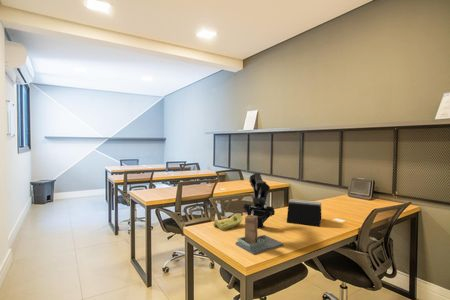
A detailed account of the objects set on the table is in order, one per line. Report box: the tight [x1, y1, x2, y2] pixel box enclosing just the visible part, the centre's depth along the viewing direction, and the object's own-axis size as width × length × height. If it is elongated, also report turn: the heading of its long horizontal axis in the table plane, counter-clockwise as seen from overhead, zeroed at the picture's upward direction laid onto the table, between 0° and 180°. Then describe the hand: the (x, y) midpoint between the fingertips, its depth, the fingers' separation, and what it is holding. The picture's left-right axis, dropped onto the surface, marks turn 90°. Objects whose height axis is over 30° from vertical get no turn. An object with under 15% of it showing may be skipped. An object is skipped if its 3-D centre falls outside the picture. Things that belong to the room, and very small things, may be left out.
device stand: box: [286, 198, 322, 228], centre depth 191 cm, size 22×22×15 cm
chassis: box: [235, 234, 284, 255], centre depth 144 cm, size 22×16×3 cm
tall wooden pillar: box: [244, 214, 258, 244], centre depth 143 cm, size 6×6×15 cm
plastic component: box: [213, 212, 244, 231], centre depth 177 cm, size 20×7×10 cm
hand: (255, 221), depth 150 cm, fingers open, 9 cm apart
